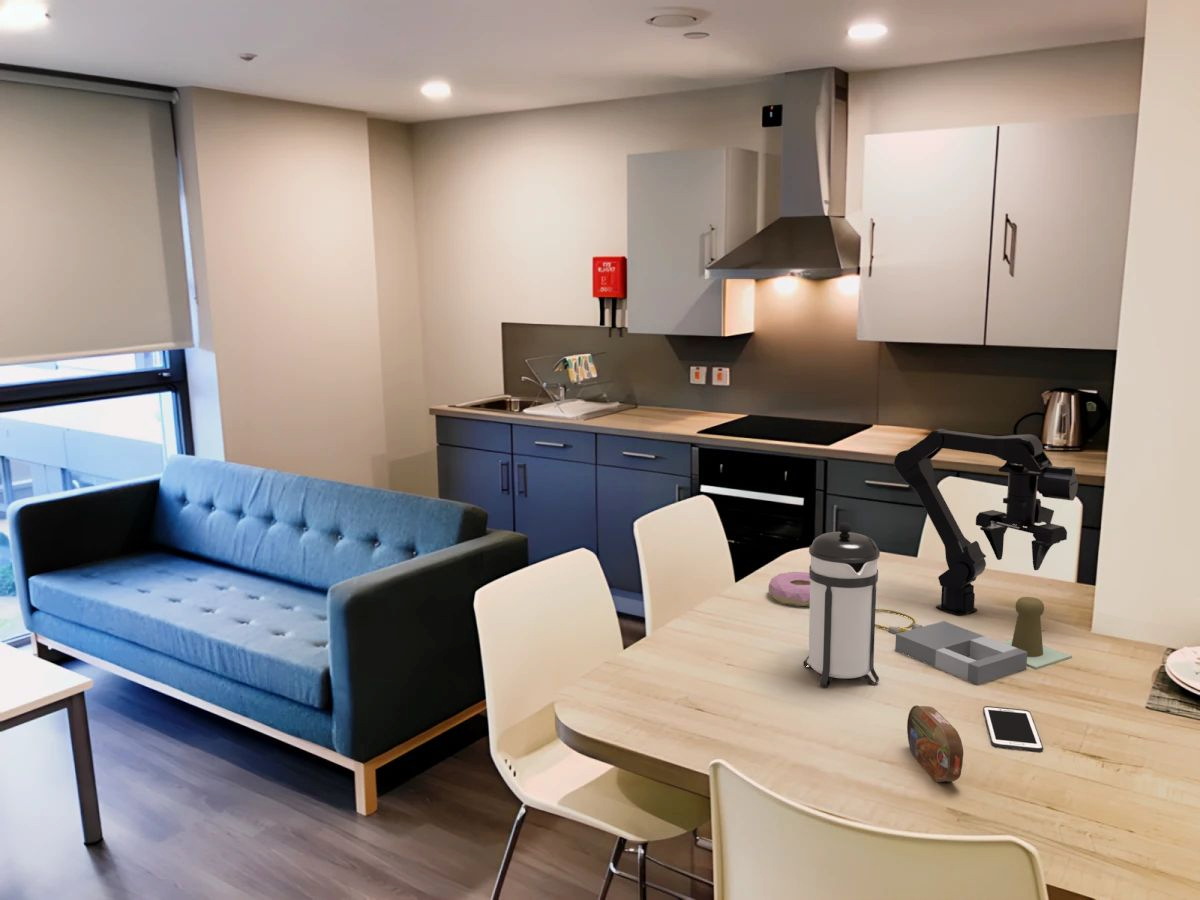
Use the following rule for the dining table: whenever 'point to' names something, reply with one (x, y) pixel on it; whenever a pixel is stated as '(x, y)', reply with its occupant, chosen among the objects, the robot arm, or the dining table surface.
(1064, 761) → the dining table surface
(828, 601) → the coffee press
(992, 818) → the dining table surface
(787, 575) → the donut
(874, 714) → the dining table surface
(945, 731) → the tin
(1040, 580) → the dining table surface
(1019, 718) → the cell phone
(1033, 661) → the mat
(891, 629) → the gold chain necklace
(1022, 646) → the cork
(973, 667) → the socket block
